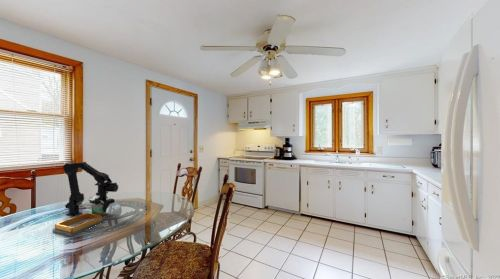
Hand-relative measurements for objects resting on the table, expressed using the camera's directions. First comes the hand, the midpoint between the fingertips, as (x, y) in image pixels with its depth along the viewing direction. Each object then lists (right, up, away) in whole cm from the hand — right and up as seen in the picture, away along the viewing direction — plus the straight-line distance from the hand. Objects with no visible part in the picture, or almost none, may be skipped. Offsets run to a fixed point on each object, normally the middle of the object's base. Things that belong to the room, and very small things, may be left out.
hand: (101, 211), depth 152 cm
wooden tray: (-1, -4, -18) cm, 19 cm away
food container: (0, -4, 0) cm, 4 cm away
